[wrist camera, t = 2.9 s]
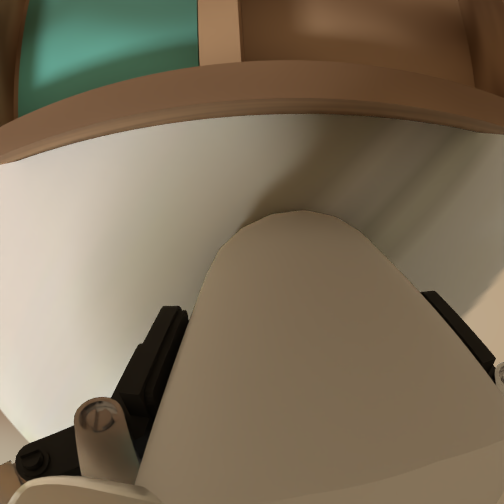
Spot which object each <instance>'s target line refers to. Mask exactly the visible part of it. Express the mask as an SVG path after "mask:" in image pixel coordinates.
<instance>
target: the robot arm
mask: <svg viewBox="0 0 504 504" xmlns="http://www.w3.org/2000/svg"><path fill="white" fill-rule="evenodd" d="M420 293H421V294H422V295H423V296H424V298H425V299H426V300H427V301H428V302H429V303H430V304H431V305H432V307H433V308H434V309H435V310H436V311H437V312H438V313H439V315H440V316H441V317H442V318H443V319H444V320H445V322H446V323H447V324H448V325H449V326H450V327H451V329H452V330H453V331H454V332H455V333H456V335H457V336H458V337H459V338H460V339H461V341H462V342H463V343H464V344H465V346H466V347H467V348H468V349H469V351H470V352H471V353H472V354H473V356H474V357H475V358H476V360H477V361H478V362H479V363H480V365H481V366H482V367H483V369H484V370H485V371H486V373H487V374H488V375H489V377H490V378H491V380H492V381H493V382H494V384H495V385H496V386H497V388H498V389H499V391H500V392H501V394H502V395H503V396H504V362H502V363H500V364H499V365H497V367H496V368H495V367H494V365H493V364H494V361H495V359H496V358H495V357H494V355H493V354H492V353H491V352H490V351H489V349H488V348H487V347H486V346H485V345H484V344H483V343H482V341H481V340H480V339H479V338H478V337H477V335H476V334H475V333H474V332H473V331H472V330H471V329H470V328H469V326H468V325H467V324H466V323H465V322H464V321H463V320H462V319H461V318H460V317H459V315H458V314H457V313H456V312H455V311H454V310H453V309H452V308H451V307H450V306H449V305H448V304H447V303H446V302H445V301H444V300H443V299H442V297H441V296H440V295H439V294H438V293H437V292H435V291H427V292H420ZM188 323H189V320H188V315H187V312H186V310H182V309H181V307H180V306H163V307H162V308H161V310H160V312H159V314H158V316H157V318H156V319H155V321H154V323H153V325H152V327H151V329H150V331H149V333H148V335H147V337H146V338H145V340H144V342H143V343H141V344H139V345H138V346H137V348H136V350H135V352H134V354H133V356H132V357H131V359H130V361H129V363H128V365H127V367H126V369H125V371H124V373H123V375H122V377H121V379H120V381H119V383H118V385H117V387H116V389H115V391H114V393H113V395H112V397H111V398H107V397H98V398H93V399H90V400H88V401H86V402H85V403H83V404H82V405H81V406H80V407H79V408H78V409H77V411H76V413H75V416H74V426H71V427H69V428H67V429H64V430H62V431H59V432H57V433H55V434H52V435H50V436H47V437H45V438H42V439H39V440H37V441H34V442H32V443H29V444H27V445H25V446H24V447H23V448H22V449H21V450H20V451H19V452H18V454H17V456H16V460H15V463H13V462H12V461H8V462H6V463H4V464H2V465H0V504H163V503H162V502H161V501H160V500H159V499H158V498H157V497H156V496H155V495H154V494H153V493H152V492H150V491H149V490H148V489H146V488H145V487H142V486H137V485H135V481H136V478H137V475H138V471H139V468H140V465H141V462H142V458H143V455H144V452H145V449H146V446H147V442H148V439H149V436H150V433H151V430H152V427H153V424H154V421H155V418H156V415H157V412H158V409H159V406H160V403H161V400H162V397H163V394H164V391H165V388H166V385H167V382H168V379H169V376H170V373H171V370H172V367H173V365H174V362H175V359H176V356H177V353H178V350H179V348H180V345H181V342H182V339H183V336H184V334H185V331H186V328H187V325H188ZM496 504H504V492H503V494H502V495H501V497H500V499H499V500H498V502H497V503H496Z"/></svg>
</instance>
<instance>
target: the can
mask: <svg viewBox="0 0 504 504" xmlns="http://www.w3.org/2000/svg"><path fill="white" fill-rule="evenodd" d="M135 485H137V486H142V487H145V488H146V489H148V490H149V491H150V492H152V493H153V494H154V495H155V496H156V497H157V498H158V499H159V500H160V501H161V502H162V503H163V504H496V503H497V502H498V500H499V499H500V497H501V495H502V494H503V492H504V396H503V395H502V394H501V392H500V391H499V389H498V388H497V386H496V385H495V384H494V382H493V381H492V380H491V378H490V377H489V375H488V374H487V373H486V371H485V370H484V369H483V367H482V366H481V365H480V363H479V362H478V361H477V360H476V358H475V357H474V356H473V354H472V353H471V352H470V351H469V349H468V348H467V347H466V346H465V344H464V343H463V342H462V341H461V339H460V338H459V337H458V336H457V335H456V333H455V332H454V331H453V330H452V329H451V327H450V326H449V325H448V324H447V323H446V322H445V320H444V319H443V318H442V317H441V316H440V315H439V313H438V312H437V311H436V310H435V309H434V308H433V307H432V305H431V304H430V303H429V302H428V301H427V300H426V299H425V298H424V296H423V295H422V294H421V293H420V292H419V291H418V290H417V289H416V288H415V287H414V286H413V285H412V283H411V282H410V281H409V280H408V279H407V278H406V277H405V276H404V275H403V274H402V273H401V272H400V271H399V270H398V269H397V268H396V267H395V266H394V265H393V264H392V262H391V261H390V260H389V259H388V258H387V257H386V256H385V255H384V254H383V253H382V252H381V251H380V250H379V249H378V248H377V247H376V246H375V245H374V244H373V243H372V242H371V241H370V240H368V239H367V238H366V237H365V236H364V235H363V234H362V233H361V232H360V231H359V230H357V229H355V228H354V227H352V226H350V225H349V224H347V223H345V222H344V221H342V220H340V219H339V218H337V217H335V216H331V215H326V214H321V213H317V212H312V211H307V210H300V211H292V212H284V213H276V214H271V215H268V216H266V217H264V218H262V219H260V220H258V221H256V222H253V223H251V224H249V225H247V226H245V227H243V228H241V229H240V230H239V231H238V232H237V233H236V234H235V235H234V236H233V237H232V238H231V239H230V240H229V241H227V242H226V243H225V244H224V245H223V246H222V247H221V248H220V249H219V251H218V253H217V255H216V257H215V259H214V261H213V263H212V265H211V267H210V269H209V271H208V272H207V274H206V277H205V280H204V282H203V285H202V288H201V290H200V293H199V296H198V298H197V301H196V304H195V306H194V309H193V312H192V314H191V317H190V320H189V323H188V325H187V328H186V331H185V334H184V336H183V339H182V342H181V345H180V348H179V350H178V353H177V356H176V359H175V362H174V365H173V367H172V370H171V373H170V376H169V379H168V382H167V385H166V388H165V391H164V394H163V397H162V400H161V403H160V406H159V409H158V412H157V415H156V418H155V421H154V424H153V427H152V430H151V433H150V436H149V439H148V442H147V446H146V449H145V452H144V455H143V458H142V462H141V465H140V468H139V471H138V475H137V478H136V481H135Z"/></svg>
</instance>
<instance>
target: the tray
mask: <svg viewBox="0 0 504 504" xmlns="http://www.w3.org/2000/svg"><path fill="white" fill-rule="evenodd" d="M264 114H340V115H359V116H373V117H384V118H394V119H403V120H411V121H418V122H425V123H432V124H438V125H444V126H450V127H455V128H460V129H465V130H470V131H475V132H479V133H492V134H503V135H504V0H0V165H1V164H5V163H10V162H15V161H18V160H21V159H24V158H27V157H30V156H33V155H36V154H39V153H42V152H45V151H49V150H52V149H55V148H59V147H62V146H66V145H69V144H73V143H77V142H80V141H84V140H88V139H92V138H96V137H101V136H105V135H109V134H114V133H119V132H124V131H129V130H134V129H139V128H145V127H150V126H156V125H163V124H169V123H176V122H183V121H191V120H200V119H209V118H219V117H231V116H245V115H264Z"/></svg>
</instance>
